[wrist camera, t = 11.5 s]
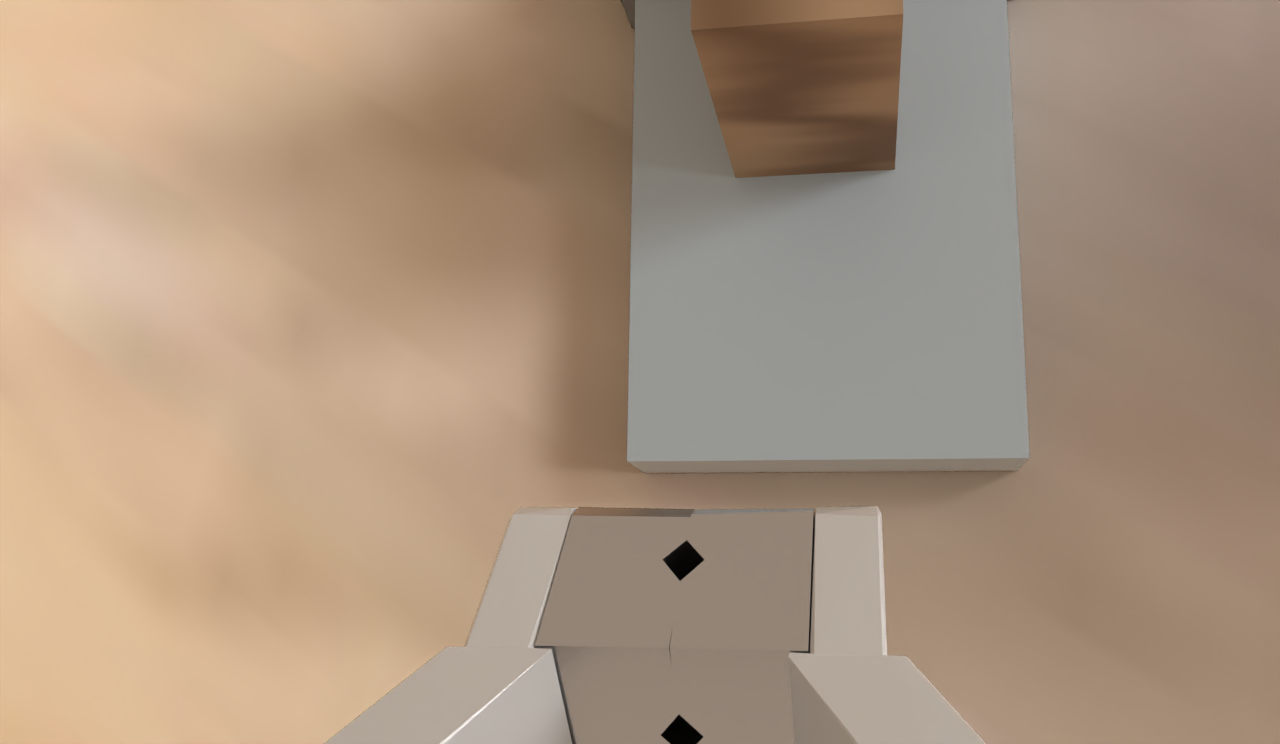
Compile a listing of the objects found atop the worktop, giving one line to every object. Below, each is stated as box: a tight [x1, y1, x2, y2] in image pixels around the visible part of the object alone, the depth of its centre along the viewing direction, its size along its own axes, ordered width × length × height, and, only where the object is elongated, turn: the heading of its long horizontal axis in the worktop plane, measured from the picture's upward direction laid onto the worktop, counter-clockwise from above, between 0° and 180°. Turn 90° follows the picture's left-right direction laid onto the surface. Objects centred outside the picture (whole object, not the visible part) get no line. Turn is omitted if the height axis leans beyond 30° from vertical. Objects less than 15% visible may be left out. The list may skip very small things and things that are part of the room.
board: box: [627, 0, 1030, 473], centre depth 39 cm, size 12×16×3 cm
